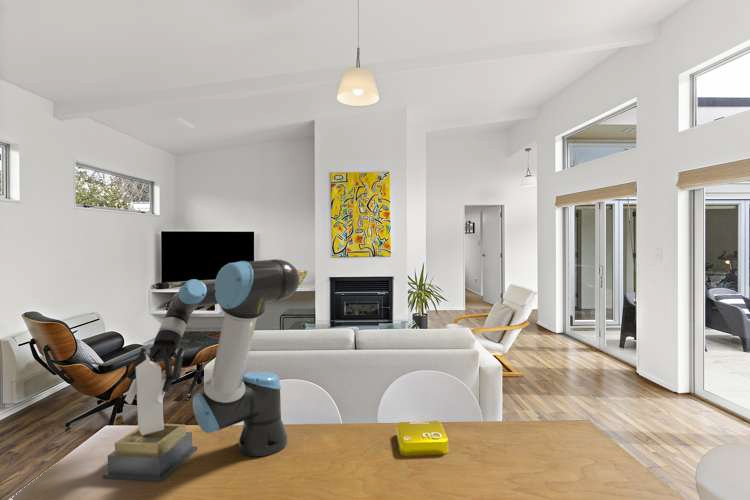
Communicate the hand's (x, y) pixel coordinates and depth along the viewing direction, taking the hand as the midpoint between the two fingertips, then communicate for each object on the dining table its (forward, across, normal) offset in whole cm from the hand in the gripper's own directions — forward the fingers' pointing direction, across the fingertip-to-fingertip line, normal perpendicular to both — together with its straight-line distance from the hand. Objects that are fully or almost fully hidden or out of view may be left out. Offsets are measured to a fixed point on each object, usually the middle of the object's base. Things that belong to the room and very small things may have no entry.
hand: (142, 401), depth 125 cm
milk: (+5, 0, -9) cm, 10 cm away
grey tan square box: (+12, 0, -16) cm, 20 cm away
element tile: (+3, -81, -26) cm, 85 cm away
